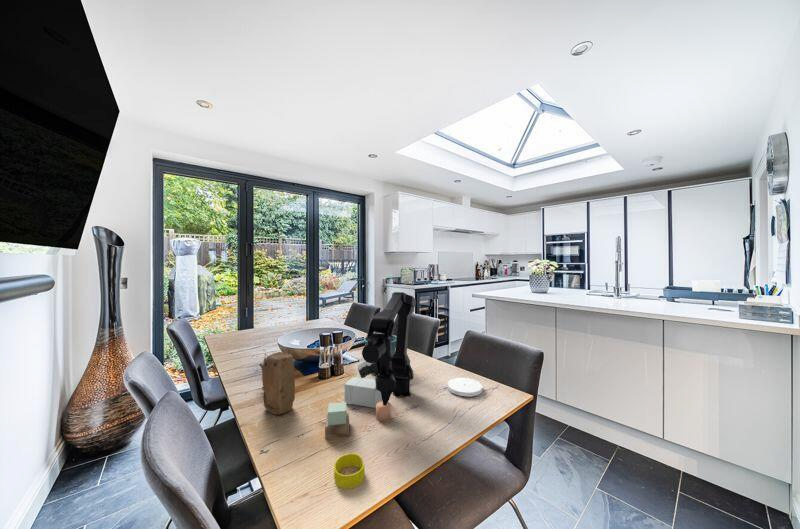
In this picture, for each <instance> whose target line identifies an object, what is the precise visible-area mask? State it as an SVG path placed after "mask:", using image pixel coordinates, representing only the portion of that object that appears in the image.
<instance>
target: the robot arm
mask: <svg viewBox="0 0 800 529" xmlns="http://www.w3.org/2000/svg"><path fill="white" fill-rule="evenodd" d="M416 304H417V301H416V298H415V297H414V296H413V295H410V294H407V293H406V292H404V291H402V292H401V291H394V292H392V294H391V297H390V299H389V300H388V302H387V303H386V304H385V307H384V308H383V310H382V311H379V312H377V313H376V314H375V315H374V316H373V317H372V319H371V320H370V323H369V325H368V326H369V327H368V331H367V334H366V336H367V338H371V340H368V344H367V345H366V346H365V345H364V347H363V348H362V350H361V355H362V358H363V360H364V362H362V363H359V364H357V370H358V374H359V376H360V378H363V379H365V378H366V377H367V376H369V375H372V373H374V375H373V376H375V377H376V378H375V379H374V380H375V385H376V389H377V390H378V391H380V392H381V396H382V400H381V401H383V405H387V403H388V402H390V401H389V400H390V398H391V396H392V394H393V396H394V397H397V398H398V397H409V396H411V395H412V394H411V386H410V385H411V384H410V383H411V380H413V379H414V369H413V368H412V365H411V360H410V357H409V355H408V344H409V343H408V342H409V329H410V318H411V316H412V314H413V313H414V311H415V308H416ZM396 316H397V327H396V322H395V318H396ZM395 328H397V329H396V336H397V338H396V348H395V354H394V355H393V357H392V356H391V337H392V336H393V335H394V332H395Z"/></svg>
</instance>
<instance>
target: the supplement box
mask: <svg viewBox="0 0 800 529" xmlns="http://www.w3.org/2000/svg"><path fill="white" fill-rule="evenodd" d="M343 388H344V402H346V404H349V405H356V406H360V407H367V408H373V409H376V404H377V403H378V402H381V401H382V396H381V392H380V391H378V390H377V389H376V385H375V379H369V378H361V377H354V376H353V377H352V378H351V379H349V380H348V381H347V382H346V383H344V387H343Z"/></svg>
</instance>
